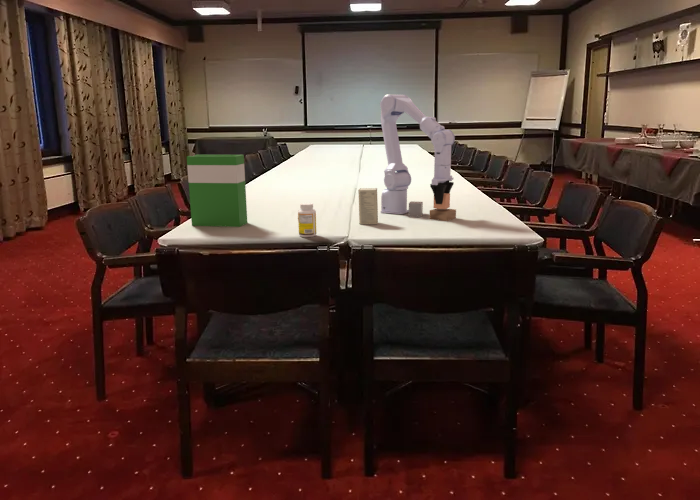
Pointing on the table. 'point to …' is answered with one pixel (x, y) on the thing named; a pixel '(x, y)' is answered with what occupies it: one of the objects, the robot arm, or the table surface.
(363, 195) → the skincare box
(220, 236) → the table surface
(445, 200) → the rust block
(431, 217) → the walnut slab
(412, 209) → the grey block
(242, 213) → the cereal box
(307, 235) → the supplement bottle
